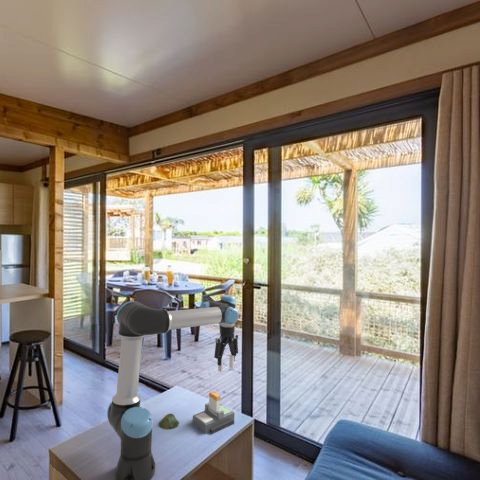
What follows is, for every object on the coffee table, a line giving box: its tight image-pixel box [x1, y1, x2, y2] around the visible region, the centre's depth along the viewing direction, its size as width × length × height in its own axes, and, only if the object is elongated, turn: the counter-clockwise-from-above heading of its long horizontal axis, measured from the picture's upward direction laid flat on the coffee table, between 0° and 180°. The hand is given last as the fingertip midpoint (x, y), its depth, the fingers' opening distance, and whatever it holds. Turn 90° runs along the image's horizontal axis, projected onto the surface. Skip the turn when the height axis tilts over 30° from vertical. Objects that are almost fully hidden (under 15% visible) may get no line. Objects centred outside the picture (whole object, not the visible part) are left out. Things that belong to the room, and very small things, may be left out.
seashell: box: [158, 413, 180, 430], centre depth 166 cm, size 10×4×10 cm
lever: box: [208, 390, 221, 415], centre depth 169 cm, size 2×8×9 cm, turn 42°
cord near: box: [209, 419, 235, 435], centre depth 164 cm, size 14×2×2 cm, turn 133°
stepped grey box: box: [192, 402, 235, 434], centre depth 169 cm, size 18×12×7 cm, turn 133°
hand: (225, 369), depth 173 cm, fingers open, 7 cm apart
